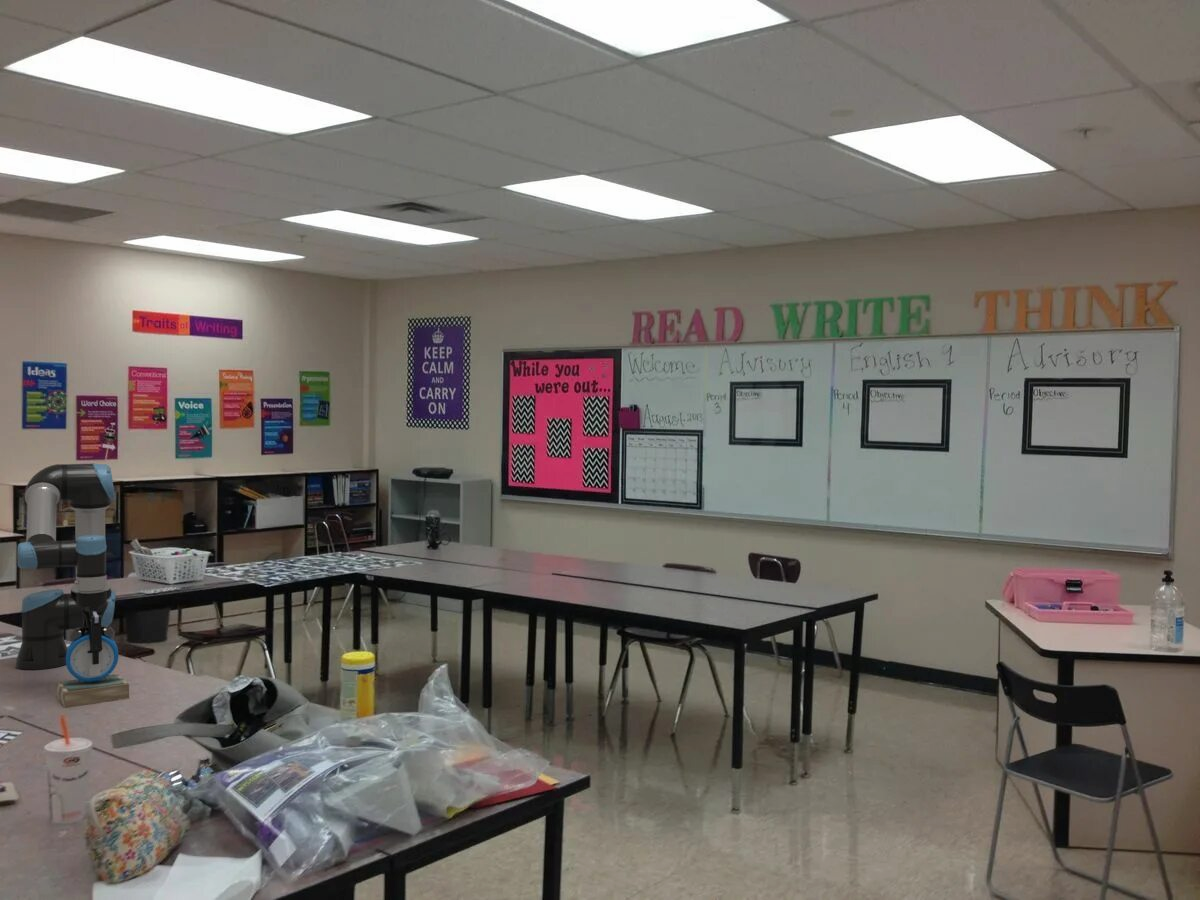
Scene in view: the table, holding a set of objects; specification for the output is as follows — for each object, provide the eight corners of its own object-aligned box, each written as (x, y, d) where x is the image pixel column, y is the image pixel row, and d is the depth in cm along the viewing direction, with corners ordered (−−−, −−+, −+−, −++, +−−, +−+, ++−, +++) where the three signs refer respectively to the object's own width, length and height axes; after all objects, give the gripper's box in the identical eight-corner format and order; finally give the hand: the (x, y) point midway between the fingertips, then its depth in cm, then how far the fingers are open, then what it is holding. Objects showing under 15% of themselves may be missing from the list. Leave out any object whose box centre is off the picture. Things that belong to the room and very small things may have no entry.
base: (56, 696, 287) (56, 681, 287) (118, 687, 297) (118, 673, 296) (65, 707, 276) (65, 691, 276) (129, 698, 285) (128, 682, 285)
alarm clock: (65, 685, 281) (65, 630, 280) (66, 680, 286) (66, 626, 286) (118, 679, 286) (118, 626, 286) (118, 675, 292) (117, 622, 292)
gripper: (70, 587, 291) (71, 668, 292) (83, 597, 275) (84, 681, 276) (99, 585, 296) (100, 664, 296) (113, 594, 280) (114, 677, 280)
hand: (92, 672), depth 286 cm, fingers closed on alarm clock, 7 cm apart
